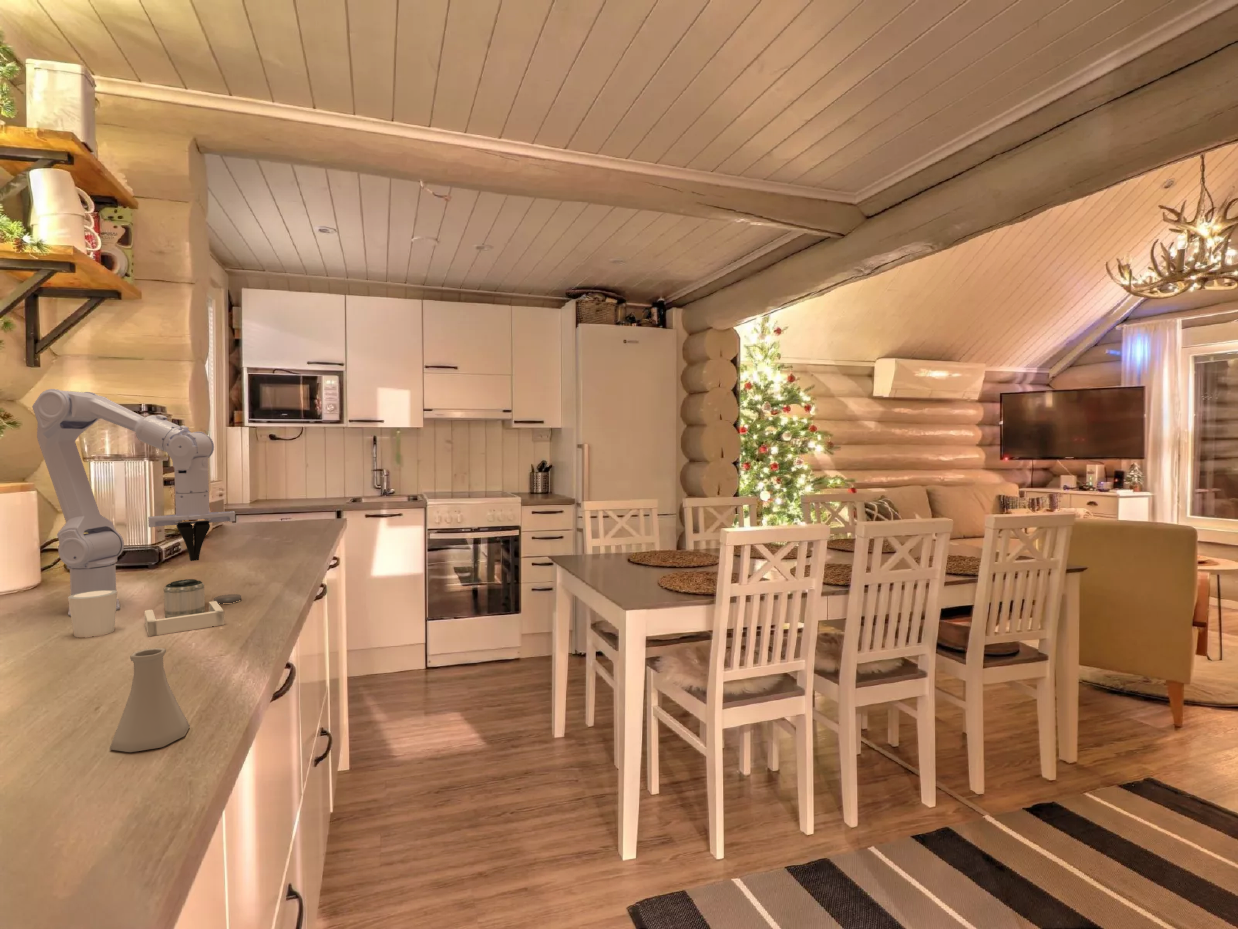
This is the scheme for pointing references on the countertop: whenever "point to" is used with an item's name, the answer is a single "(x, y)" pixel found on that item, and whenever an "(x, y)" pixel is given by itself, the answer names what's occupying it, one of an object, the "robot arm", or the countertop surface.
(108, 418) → the robot arm
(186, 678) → the countertop surface
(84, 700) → the countertop surface
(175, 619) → the cradle
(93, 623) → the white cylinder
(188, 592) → the camera lens
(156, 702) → the flask
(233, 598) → the grey round disc
